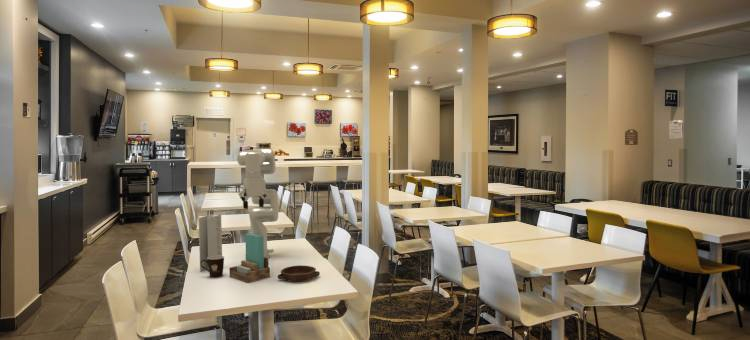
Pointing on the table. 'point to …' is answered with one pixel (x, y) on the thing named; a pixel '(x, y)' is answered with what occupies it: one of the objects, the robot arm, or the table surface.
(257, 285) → the table surface
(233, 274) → the rack
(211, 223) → the tall grey panel
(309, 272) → the dish
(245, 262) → the offcut oak
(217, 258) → the coffee mug
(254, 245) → the tall sheet
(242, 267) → the offcut grey
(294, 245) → the table surface
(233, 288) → the table surface
